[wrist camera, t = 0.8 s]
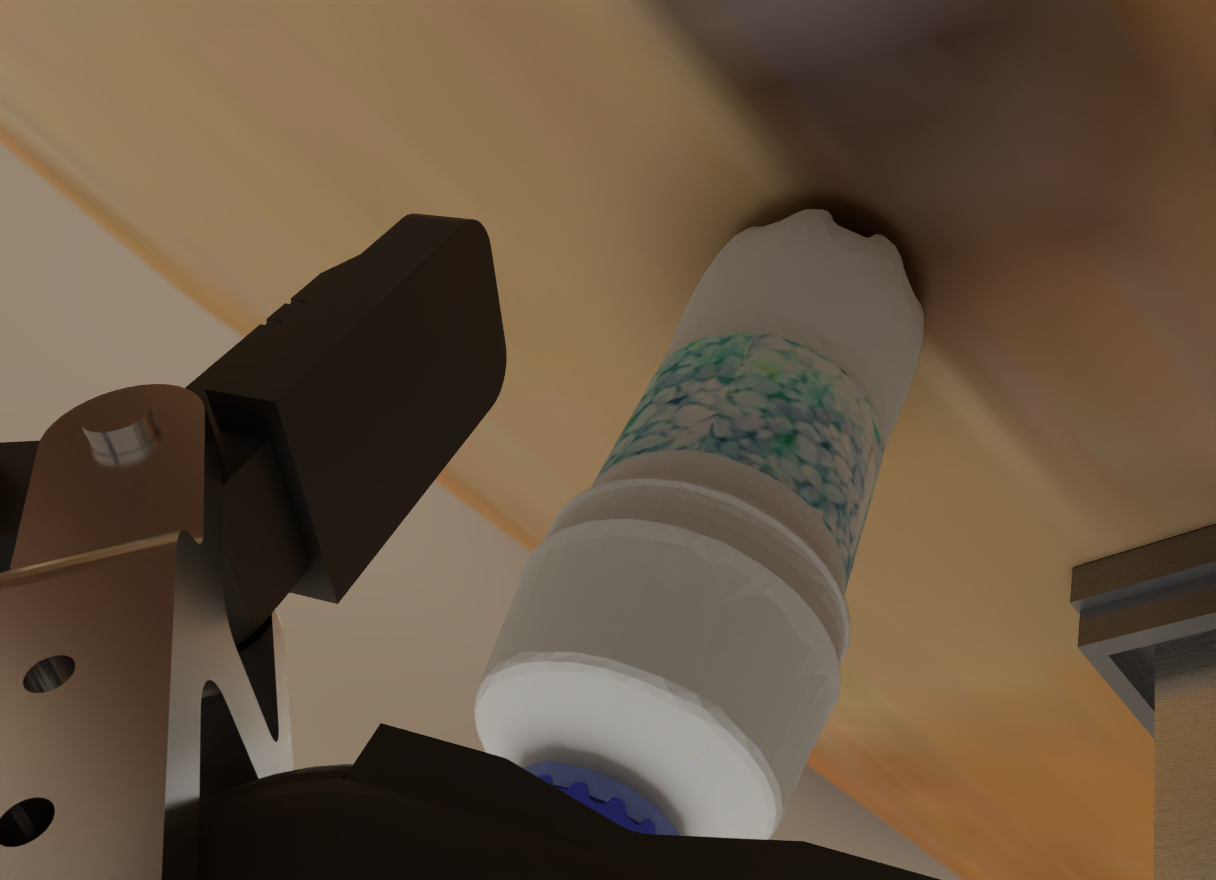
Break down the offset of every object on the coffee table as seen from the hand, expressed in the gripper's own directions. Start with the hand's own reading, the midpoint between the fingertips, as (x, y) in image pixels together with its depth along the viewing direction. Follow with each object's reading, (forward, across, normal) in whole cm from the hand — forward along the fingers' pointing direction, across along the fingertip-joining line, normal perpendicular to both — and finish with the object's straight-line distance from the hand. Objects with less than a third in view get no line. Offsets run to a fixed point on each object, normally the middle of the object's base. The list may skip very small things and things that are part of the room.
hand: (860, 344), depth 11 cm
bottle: (+19, +4, +10) cm, 21 cm away
